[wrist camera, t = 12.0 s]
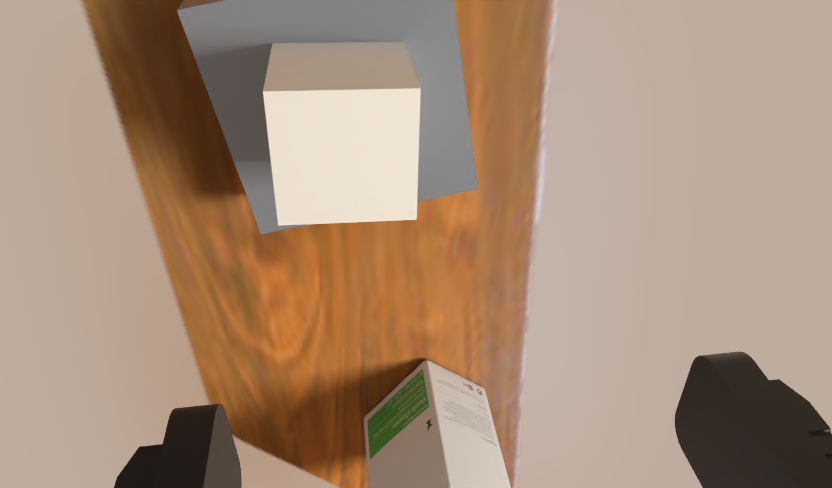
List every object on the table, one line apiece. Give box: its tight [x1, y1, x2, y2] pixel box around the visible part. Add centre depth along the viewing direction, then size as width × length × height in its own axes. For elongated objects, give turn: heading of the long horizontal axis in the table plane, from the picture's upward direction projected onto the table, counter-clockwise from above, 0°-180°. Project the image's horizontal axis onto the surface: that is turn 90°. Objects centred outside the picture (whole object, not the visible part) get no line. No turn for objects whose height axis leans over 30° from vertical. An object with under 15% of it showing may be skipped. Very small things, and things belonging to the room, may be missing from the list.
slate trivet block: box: [177, 0, 478, 234], centre depth 33 cm, size 12×12×5 cm
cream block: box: [263, 42, 421, 226], centre depth 29 cm, size 6×6×6 cm
